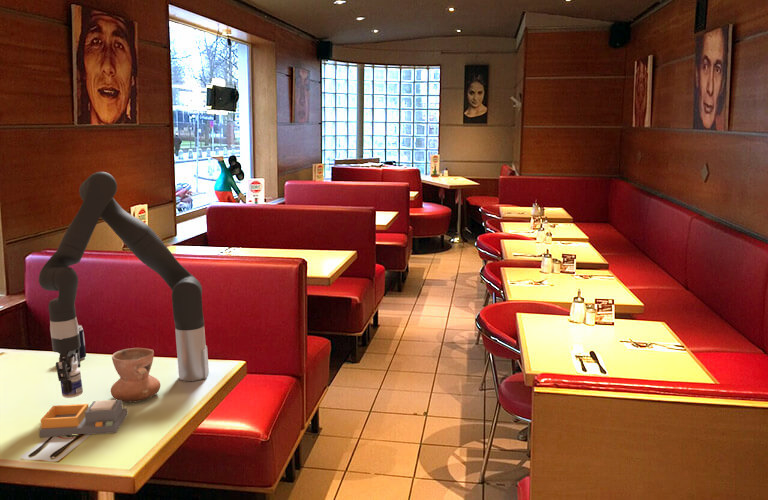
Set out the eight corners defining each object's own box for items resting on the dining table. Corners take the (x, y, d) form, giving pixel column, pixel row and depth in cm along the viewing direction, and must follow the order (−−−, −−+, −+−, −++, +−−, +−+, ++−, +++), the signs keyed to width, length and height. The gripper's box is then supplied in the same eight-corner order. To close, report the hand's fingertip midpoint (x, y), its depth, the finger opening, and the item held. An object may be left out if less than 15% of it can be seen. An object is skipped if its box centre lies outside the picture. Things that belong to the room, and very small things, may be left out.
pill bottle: (61, 393, 211) (57, 361, 209) (82, 389, 214) (78, 358, 212) (62, 400, 206) (58, 367, 204) (84, 395, 209) (80, 363, 207)
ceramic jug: (169, 399, 215) (166, 354, 213) (121, 411, 207) (117, 364, 204) (149, 384, 229) (145, 341, 227) (103, 394, 221) (99, 350, 219)
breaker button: (117, 413, 201) (116, 399, 200) (112, 420, 196) (110, 407, 195) (97, 414, 200) (96, 400, 200) (91, 422, 195) (90, 408, 194)
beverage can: (72, 356, 257) (69, 324, 255) (88, 356, 258) (85, 324, 255) (66, 361, 252) (63, 329, 249) (83, 361, 252) (79, 328, 250)
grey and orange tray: (127, 414, 205) (125, 396, 204) (116, 432, 193) (114, 413, 192) (55, 418, 203) (53, 400, 202) (39, 437, 191) (37, 418, 190)
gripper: (60, 327, 213) (66, 380, 216) (42, 342, 199) (50, 398, 202) (85, 325, 214) (92, 378, 217) (70, 340, 200) (77, 396, 203)
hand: (71, 388), depth 209 cm, fingers closed on pill bottle, 5 cm apart
